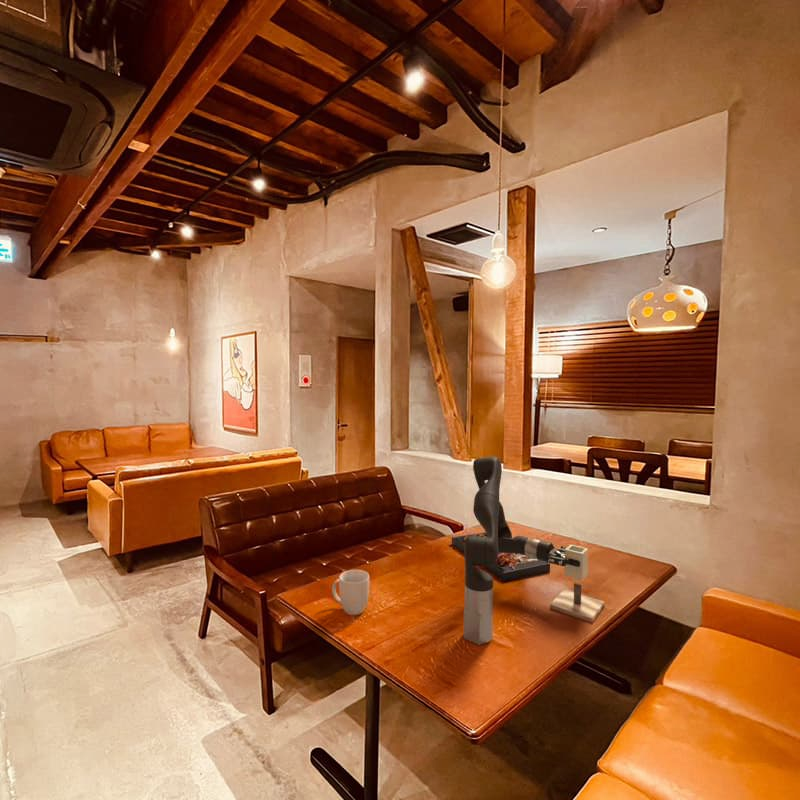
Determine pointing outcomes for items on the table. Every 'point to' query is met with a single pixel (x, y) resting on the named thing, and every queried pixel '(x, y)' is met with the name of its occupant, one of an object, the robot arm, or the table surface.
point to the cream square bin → (581, 556)
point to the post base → (577, 604)
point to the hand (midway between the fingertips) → (582, 561)
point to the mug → (352, 591)
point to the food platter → (508, 562)
